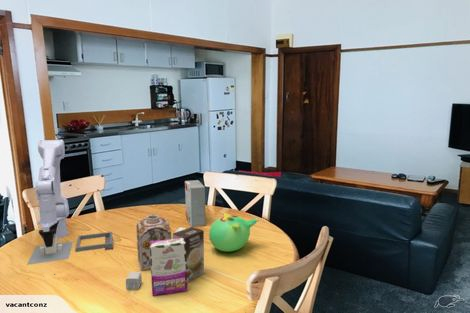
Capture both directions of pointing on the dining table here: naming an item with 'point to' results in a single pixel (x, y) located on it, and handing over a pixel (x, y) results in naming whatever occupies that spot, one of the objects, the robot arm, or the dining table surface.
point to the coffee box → (193, 251)
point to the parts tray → (107, 245)
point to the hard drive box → (195, 203)
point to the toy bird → (230, 232)
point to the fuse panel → (41, 257)
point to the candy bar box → (168, 266)
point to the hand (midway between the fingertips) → (50, 243)
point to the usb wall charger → (133, 281)
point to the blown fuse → (54, 247)
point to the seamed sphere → (180, 229)
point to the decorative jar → (150, 237)
